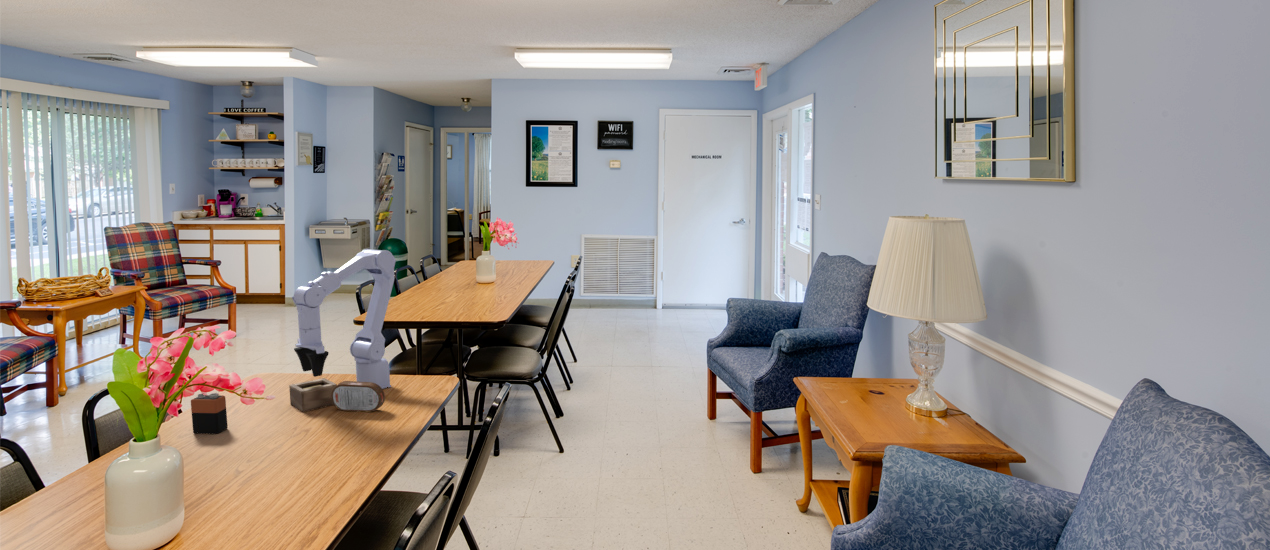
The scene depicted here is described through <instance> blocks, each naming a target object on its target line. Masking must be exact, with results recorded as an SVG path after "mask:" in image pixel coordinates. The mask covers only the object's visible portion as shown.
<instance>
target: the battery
mask: <svg viewBox="0 0 1270 550" xmlns="http://www.w3.org/2000/svg"><path fill="white" fill-rule="evenodd" d="M203 394H204V393H198V394H197V396H196V397H194V398H192V399H191V400H190V408H191V409H190V410H191V421H192V432H193V434H198V435H199V434H201V433H202V434H203V433H205V434H206V433H208V434H209V433H210V434H209V435H219V433H222V432H223V431H225V430H227V429H228V416H227V413H228V412H227V403H226V402H227V400H226V395H222V394H221V395H219V392H218V393H217V392H214V393H210V394H205V395H203ZM212 433H213V434H212ZM205 434H204V435H205ZM206 435H207V434H206Z"/></svg>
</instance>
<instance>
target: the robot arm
mask: <svg viewBox="0 0 1270 550" xmlns="http://www.w3.org/2000/svg"><path fill="white" fill-rule="evenodd" d="M396 260H397V259H396V258H395V257H394V255H393V253H392V252H391V251H390V250H387V249H382V250H381V249H373V248H364V249H362V250H361V251H360V252H358V253H356V254H355V256H354V257H353V258H351V259H350V260H348V261H347V262H346V263H344V264H343V265H342V266H341V267H339V268H338V269H336V270H335V271H330V270H329V271H323V272H321V274H320V276H319V277H318V278H316V279H314V280H310V281H308V283H307V285H302V286H299V287H297V288H296V289H295V291H294V293H293V296H291V298H292V301H293V303H294V304H295V306H296V310H297V321H298V337H299V338H297V343H296V344H295V347H294V348H293V350H294V352H295V353H296V355H297V357H298V360H299V362H300V365H301V369H302V371H303V372H310V371H311V373H312V376H313V377H315V378H316V377H321V376H322V375H323V372H324V365H325V362H326V361H327V359H328V356H329V354H330V353H329V351H327V350H325V345H324V343H323V340H322V329H321V313H320V312H321V309H320V306H321V304H323V302H324V299H325V298H326V297H328V296H329V295H330V294H332V293H333V292H335V291H337V290H338V289H340V288H341V286H342V282H343V281H344V280H346V279H348V278H349V277H351V276H353V275H355V274H356V273H358V272H360V271H362V270H366V272H368V273H369V274H370V276H372V278H373V280H374V284H373V289H372V293H371V296H370V300H369V303H368V307H367V310H366V313H365V314H366V315H365V319H364V322H363V326H362V329H360V330H359V331H358V332H356V333H355V338H354V339H353V341H352V342H351V344H350V346H349V352H350V354H351V356H352V357H354V361H355V371H356V372H355V374H356V375H355V376H356V377H355V378H356V381H357V382H373V383H376V384H378V385H379V386H380V387H381V388H382V389H383V390H384V389H387V387H388V388H392V385H391V380H390V379H391V377H390V376H391V375H390V364H389V361H388V360H387V359H386V358H384V355H385V351H386V347H385V342H386V337H384V335H383V333H382V330H383V325H384V321H385V317H386V313H387V310H388V306H389V301H390V299H391V294H392V290H393V287H394V283H395V265H396V262H397V261H396Z"/></svg>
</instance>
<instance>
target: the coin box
mask: <svg viewBox="0 0 1270 550" xmlns="http://www.w3.org/2000/svg"><path fill="white" fill-rule="evenodd" d="M317 385H321V386H317ZM337 385H338V384H337V383H335V382H333V381H331V380H329V379H327V378H325V377H324V378H318V379H313V380H308V381H302V382H298V383H292V384H289V385H288V386H289V401H290V402H289V403H290V406H292V407H293V408H295V409H296V410H299V411H300V412H302V413H304V412H309V411H313V409H314V410H318V409H322V408H321V407H323V408H326V407H325V406H327V407H330V405H332V406H335V405H334V404H333V401H332V397H331V394H332V390H333V389H334V388H335V387H336V386H337ZM313 386H317V387H313ZM308 387H312V388H308ZM303 388H308V389H303ZM317 408H318V409H317Z"/></svg>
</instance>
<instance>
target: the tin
mask: <svg viewBox="0 0 1270 550" xmlns="http://www.w3.org/2000/svg"><path fill="white" fill-rule="evenodd" d="M331 397H332V401H333V404H334V405H333V406H335V407H336V408H337V409H339V410H340V411H344V412H357V411H373V412H375V411H377V410H378V409H380V408H381V407H382V406H383V405H384V403H385V400H386V395H385V391H384V388H383V389H382V388H381V387H380V386H379V385H378V384H376V383H373V382H357V380H356V381H354V380H353V381H352V380H343V381H340V382H339V383H338V384H337V386H336V387H335V388H334V389H333V390H332V394H331Z"/></svg>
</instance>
